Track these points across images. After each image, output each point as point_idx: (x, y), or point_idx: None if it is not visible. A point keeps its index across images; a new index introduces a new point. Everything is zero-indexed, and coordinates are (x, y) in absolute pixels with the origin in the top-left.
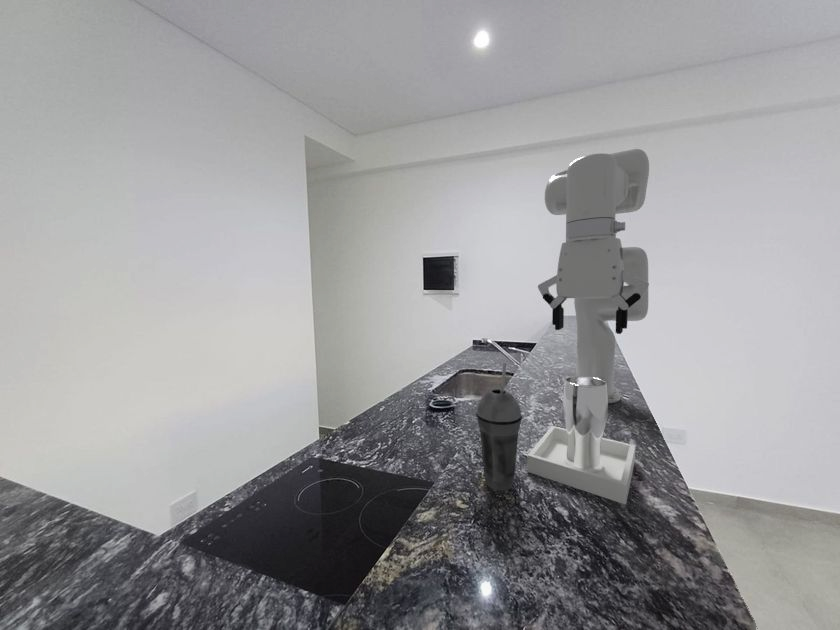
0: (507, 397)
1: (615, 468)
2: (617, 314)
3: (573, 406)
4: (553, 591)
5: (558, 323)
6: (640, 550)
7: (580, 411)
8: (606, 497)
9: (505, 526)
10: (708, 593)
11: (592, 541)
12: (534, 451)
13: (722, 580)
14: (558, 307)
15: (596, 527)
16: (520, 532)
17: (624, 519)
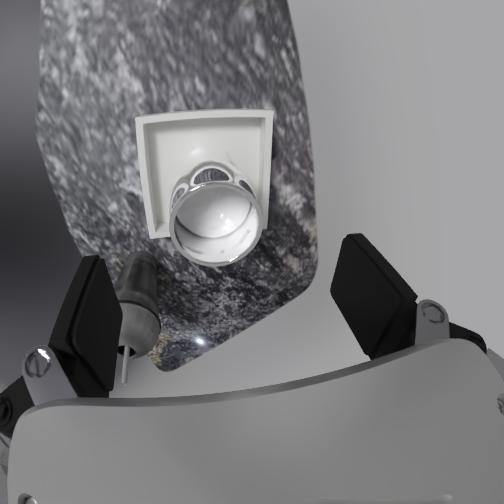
0: (143, 351)
1: (246, 156)
2: (363, 347)
3: (201, 241)
4: (230, 324)
5: (117, 336)
6: (273, 267)
7: (214, 239)
8: None
9: (181, 305)
10: (307, 275)
11: (242, 280)
12: (152, 223)
13: (317, 260)
14: (95, 391)
15: (241, 264)
16: (193, 303)
17: (261, 240)
